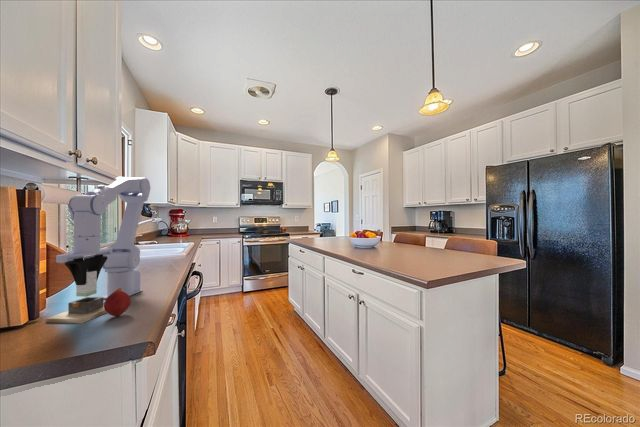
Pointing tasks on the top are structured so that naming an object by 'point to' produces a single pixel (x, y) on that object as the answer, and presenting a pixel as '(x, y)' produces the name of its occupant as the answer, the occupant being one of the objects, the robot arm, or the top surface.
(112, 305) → the onion
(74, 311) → the stand
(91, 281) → the post
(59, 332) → the top surface
